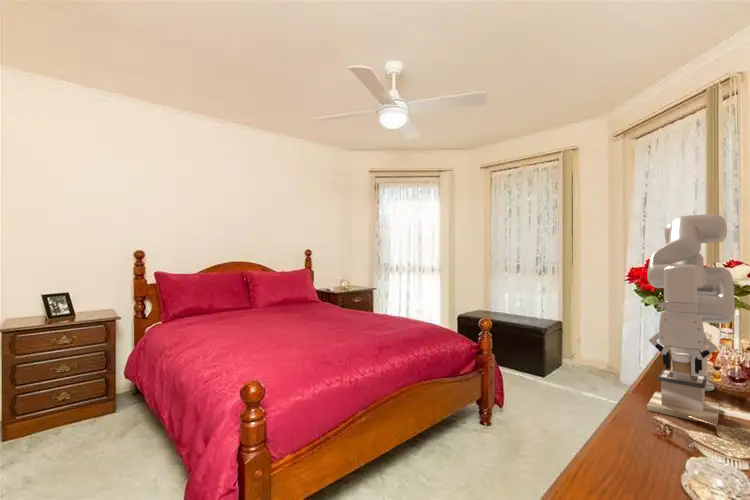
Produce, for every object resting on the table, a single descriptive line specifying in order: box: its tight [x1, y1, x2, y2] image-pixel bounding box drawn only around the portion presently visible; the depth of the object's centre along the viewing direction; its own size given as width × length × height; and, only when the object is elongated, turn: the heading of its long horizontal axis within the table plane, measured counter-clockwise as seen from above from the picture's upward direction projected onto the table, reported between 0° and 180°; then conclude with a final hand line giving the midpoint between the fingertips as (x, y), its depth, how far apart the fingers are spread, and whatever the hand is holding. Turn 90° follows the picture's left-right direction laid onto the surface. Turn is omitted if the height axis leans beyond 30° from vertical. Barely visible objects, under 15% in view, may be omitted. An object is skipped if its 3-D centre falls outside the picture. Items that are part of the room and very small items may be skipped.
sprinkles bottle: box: [670, 353, 692, 381], centre depth 110 cm, size 5×5×14 cm
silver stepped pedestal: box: [646, 369, 720, 426], centre depth 110 cm, size 15×15×10 cm
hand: (682, 369), depth 110 cm, fingers open, 6 cm apart
